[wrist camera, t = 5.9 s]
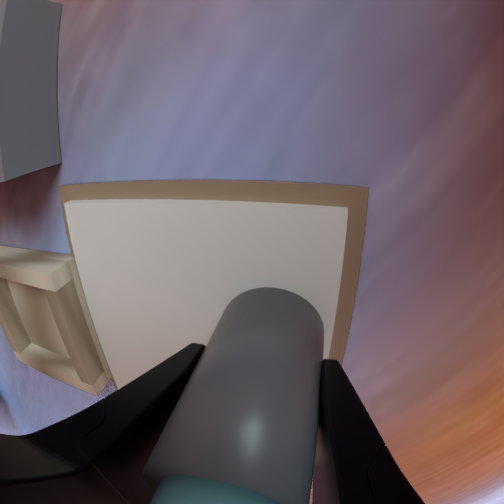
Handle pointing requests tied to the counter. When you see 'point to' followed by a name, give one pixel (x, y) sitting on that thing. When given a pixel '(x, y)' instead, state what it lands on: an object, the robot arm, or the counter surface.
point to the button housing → (28, 86)
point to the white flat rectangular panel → (208, 258)
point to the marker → (247, 409)
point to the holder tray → (50, 318)
